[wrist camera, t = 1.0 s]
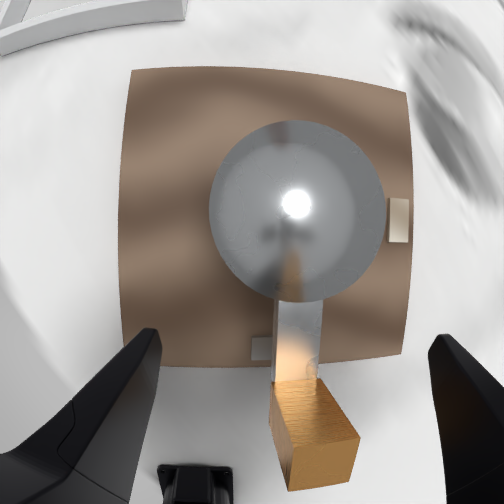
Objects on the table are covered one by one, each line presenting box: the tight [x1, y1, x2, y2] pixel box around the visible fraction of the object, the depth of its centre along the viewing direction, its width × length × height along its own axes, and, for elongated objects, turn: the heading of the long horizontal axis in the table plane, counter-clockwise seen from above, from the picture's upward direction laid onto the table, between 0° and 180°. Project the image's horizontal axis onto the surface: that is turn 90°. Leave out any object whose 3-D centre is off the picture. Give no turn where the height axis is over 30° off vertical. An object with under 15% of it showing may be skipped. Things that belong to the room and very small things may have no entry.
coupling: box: [209, 120, 386, 492], centre depth 13 cm, size 14×8×8 cm, turn 179°
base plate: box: [118, 66, 414, 368], centre depth 19 cm, size 20×20×4 cm
